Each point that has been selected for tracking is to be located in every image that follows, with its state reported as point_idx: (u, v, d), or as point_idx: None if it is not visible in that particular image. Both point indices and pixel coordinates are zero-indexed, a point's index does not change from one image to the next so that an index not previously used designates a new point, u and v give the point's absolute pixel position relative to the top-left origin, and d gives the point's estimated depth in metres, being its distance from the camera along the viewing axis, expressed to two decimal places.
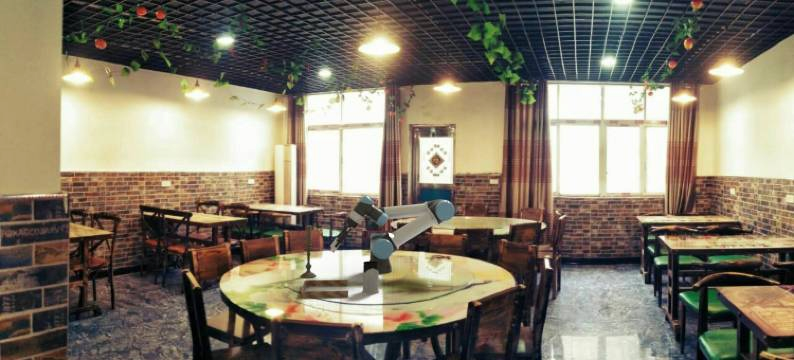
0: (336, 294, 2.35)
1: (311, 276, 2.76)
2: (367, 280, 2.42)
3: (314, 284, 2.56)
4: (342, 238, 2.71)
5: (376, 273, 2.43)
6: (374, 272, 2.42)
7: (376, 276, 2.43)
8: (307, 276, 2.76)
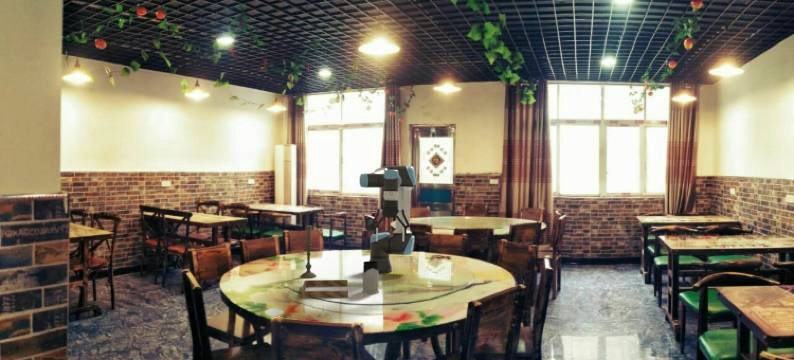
0: (336, 294, 2.35)
1: (311, 276, 2.76)
2: (367, 280, 2.42)
3: (314, 284, 2.56)
4: (408, 222, 2.51)
5: (376, 273, 2.43)
6: (374, 272, 2.42)
7: (376, 276, 2.43)
8: (307, 276, 2.76)
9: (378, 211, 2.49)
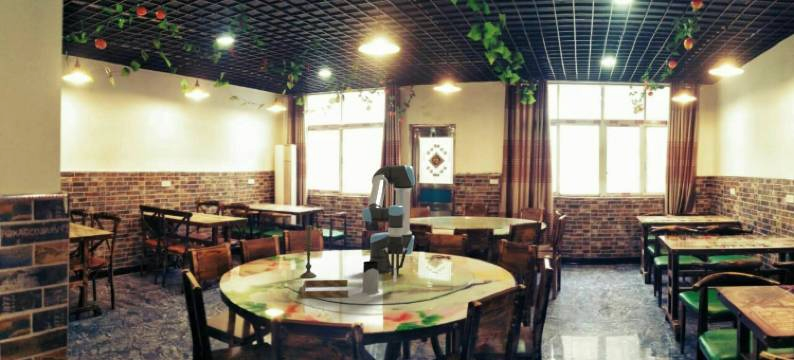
0: (336, 294, 2.35)
1: (311, 276, 2.76)
2: (367, 280, 2.42)
3: (314, 284, 2.56)
4: (402, 263, 2.50)
5: (376, 273, 2.43)
6: (374, 272, 2.42)
7: (376, 276, 2.43)
8: (307, 276, 2.76)
9: (385, 251, 2.48)
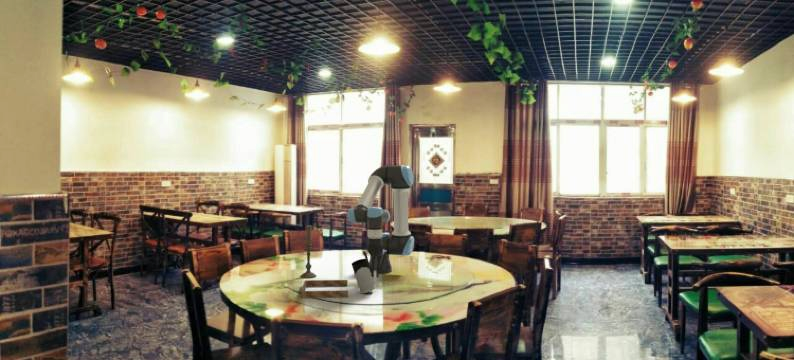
0: (336, 294, 2.35)
1: (311, 276, 2.76)
2: (360, 280, 2.41)
3: (314, 284, 2.56)
4: (382, 265, 2.49)
5: (367, 270, 2.42)
6: (364, 270, 2.41)
7: (368, 273, 2.42)
8: (307, 276, 2.76)
9: (364, 253, 2.46)
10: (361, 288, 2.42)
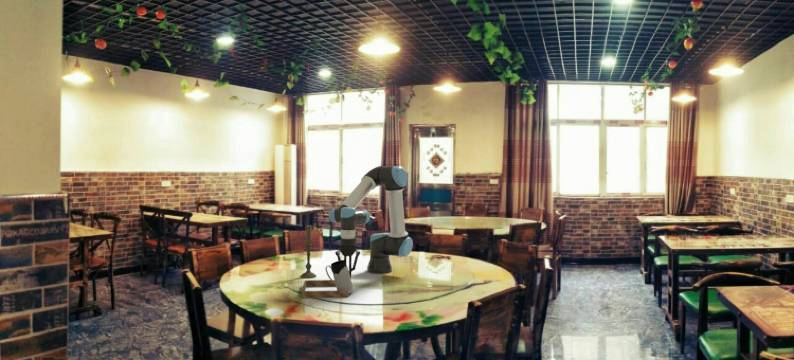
0: (336, 294, 2.35)
1: (311, 276, 2.76)
2: (343, 280, 2.38)
3: (314, 284, 2.56)
4: (355, 265, 2.48)
5: None
6: (347, 269, 2.40)
7: None
8: (307, 276, 2.76)
9: (337, 254, 2.45)
10: (343, 289, 2.38)
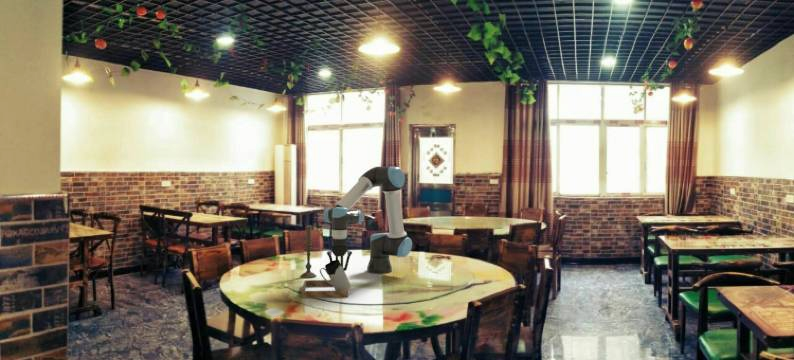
0: (336, 294, 2.35)
1: (311, 276, 2.76)
2: (340, 279, 2.37)
3: (314, 284, 2.56)
4: (347, 265, 2.47)
5: (343, 269, 2.41)
6: (342, 268, 2.39)
7: None
8: (307, 276, 2.76)
9: (328, 254, 2.45)
10: (342, 288, 2.38)
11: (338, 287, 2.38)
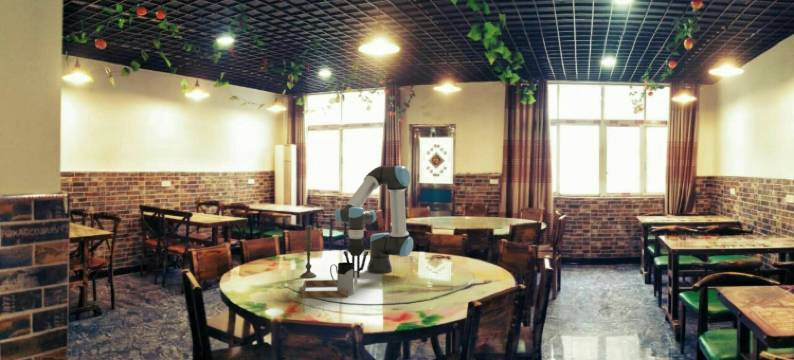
0: (336, 294, 2.35)
1: (311, 276, 2.76)
2: (347, 282, 2.38)
3: (314, 284, 2.56)
4: (363, 265, 2.48)
5: None
6: (352, 273, 2.40)
7: None
8: (307, 276, 2.76)
9: (345, 254, 2.46)
10: None
11: (341, 288, 2.38)
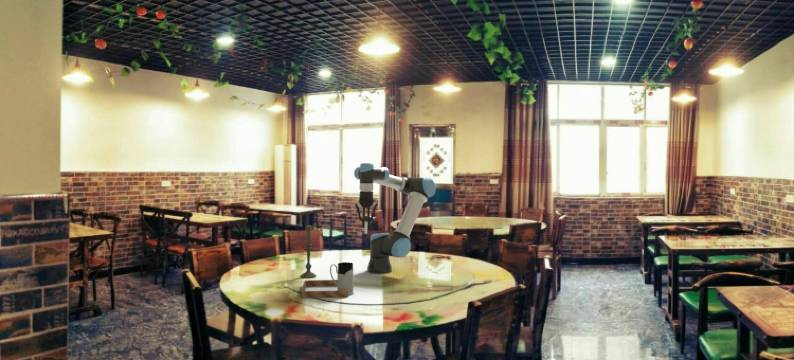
0: (336, 294, 2.35)
1: (311, 276, 2.76)
2: (347, 282, 2.38)
3: (314, 284, 2.56)
4: (373, 216, 2.70)
5: None
6: (352, 273, 2.40)
7: None
8: (307, 276, 2.76)
9: (356, 205, 2.68)
10: None
11: (341, 288, 2.38)
